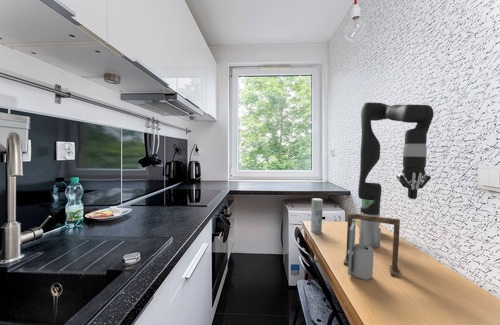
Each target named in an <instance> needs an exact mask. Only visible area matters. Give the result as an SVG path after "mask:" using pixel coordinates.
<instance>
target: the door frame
mask: <svg viewBox="0 0 500 325" xmlns="http://www.w3.org/2000/svg"><path fill="white" fill-rule="evenodd" d="M353 219H358V220H365V221H372V222H379V223H381V224H387V225H393V237H392V238H393V240H392V255H391V256H392V257H391V258H392V259H391V260H392V262H391V264H389V270H390V271H389V274H390V273H391V274H390V276H391V275H392V276H391V277H395V276H396V278H399V277H400V276H401V274H400V269H399V266H398V263H399V246H400V245H399V244H400V243H399V242H400V227H401V226H400V225H401V220H400V219H399V218H392V217H386V216H385V217H384V216H380V217H378V216H371V215H363V214H360V213H355V212H347V228H346V229H347V231H346V232H347V233H346V250H345V254H346V255H345V257H344V260H343V265H344V266H348V262H349V254H348V250H349V238H350V228H351V225H352V222H353Z"/></svg>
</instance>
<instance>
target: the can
mask: <svg viewBox="0 0 500 325" xmlns="http://www.w3.org/2000/svg"><path fill="white" fill-rule="evenodd" d="M353 251H354V253H353V257H352V272H351V274H353V275H354V276H355V278H357V279H360V280H363V281H364V280H365V281H368V280H370V279H372V278H374V277H373V274H374V256H375V254H374V251H373V248H371V247H370V246H368V245H365V244H360V243H356V244H355V247H354V248H353Z"/></svg>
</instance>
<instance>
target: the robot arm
mask: <svg viewBox="0 0 500 325" xmlns="http://www.w3.org/2000/svg"><path fill="white" fill-rule="evenodd" d="M361 106H362V107H361V111H360V119H361V120H360V122H361V125H360V126H361V138H360V139H361V140H360V142H361V144H360V161H359V162H360V171H359V178H358V181H359V182H358V189H357V193H358V194H357V196H358V198H359V200H362V199H365V200H373V201H374V202H373V203H371V204H369V205H364V206H362V205H361V206H360V213H359V214H363V215H371V216H378V217H381V216H380V215H381V200H382V199H381V198H382V192H383V191H382V185H381V183H378V182H367V181H366V180H367V177H369V174H370V172H371V171H372V170H373V168H374V167H375V166H376V164H378V162H379V161H380V158H381V143H380V141H379V139H378V138H377V136H376V135H375V133H374V131H373V128H372V121H383V120H391V121H394V122H395V121H396V122H401V123H407V124H416V126H415V127H414V128H409V129H407V130H406V131H405V133H404V147H403V154H402V155H403V156H402V167H403V169H402V170H401V173H400V174H397V175H396V178H397V180H398V181H399V183H400V184H401V186H402V187H403V188H406V189H407V197H408V198H409V200H416V199H417V198H418V191H419V190H420V189H423V188H424V187H425V186H426V184H427V183H428V182H429V181H430V180H431V178H432V177H431V175H427V173H426V170H425V168H426V167H427V151H428V150H427V141H428V140H427V138H428V137H427V136H428V132H429V129H430V127H431V124H432V121H433V119H434V115H435V114H434V113H435V112H434V109H433V108H432V106H431V105H429V104H393V105H389V104H385V103H382V102H371V101H370V102H365V103H363V105H361ZM358 235H359V236H358V244H365V245H368V246H370V247H371V248H372V249H374V248H375V249H376V248H378V247H381V235H382V229H381V228H380V225H379V222H372V221H365V220H360V231H359V234H358Z"/></svg>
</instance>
